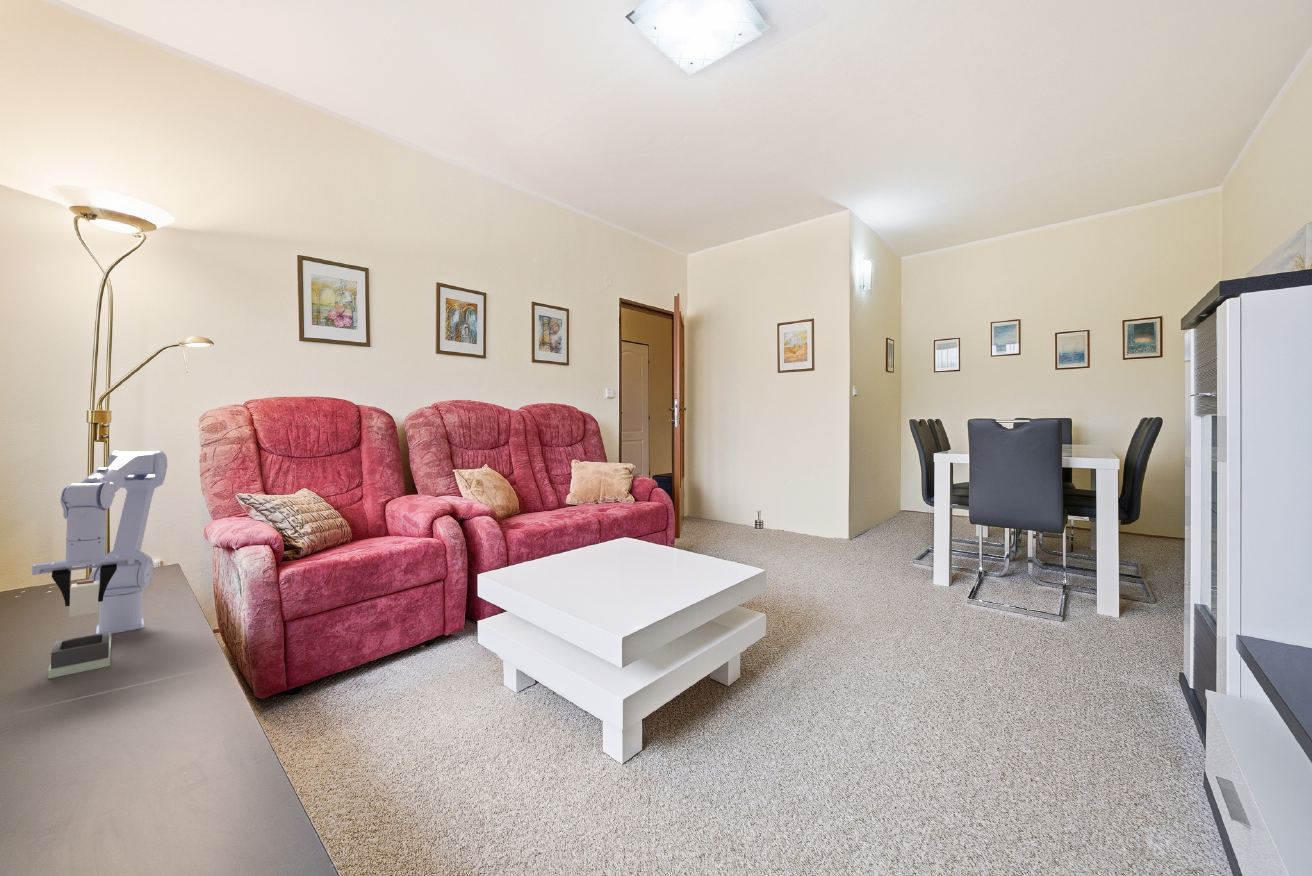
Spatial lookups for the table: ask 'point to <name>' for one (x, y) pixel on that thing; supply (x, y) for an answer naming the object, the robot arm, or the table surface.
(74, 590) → the plug
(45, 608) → the table surface
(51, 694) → the table surface
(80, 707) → the table surface
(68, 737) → the table surface
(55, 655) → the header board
